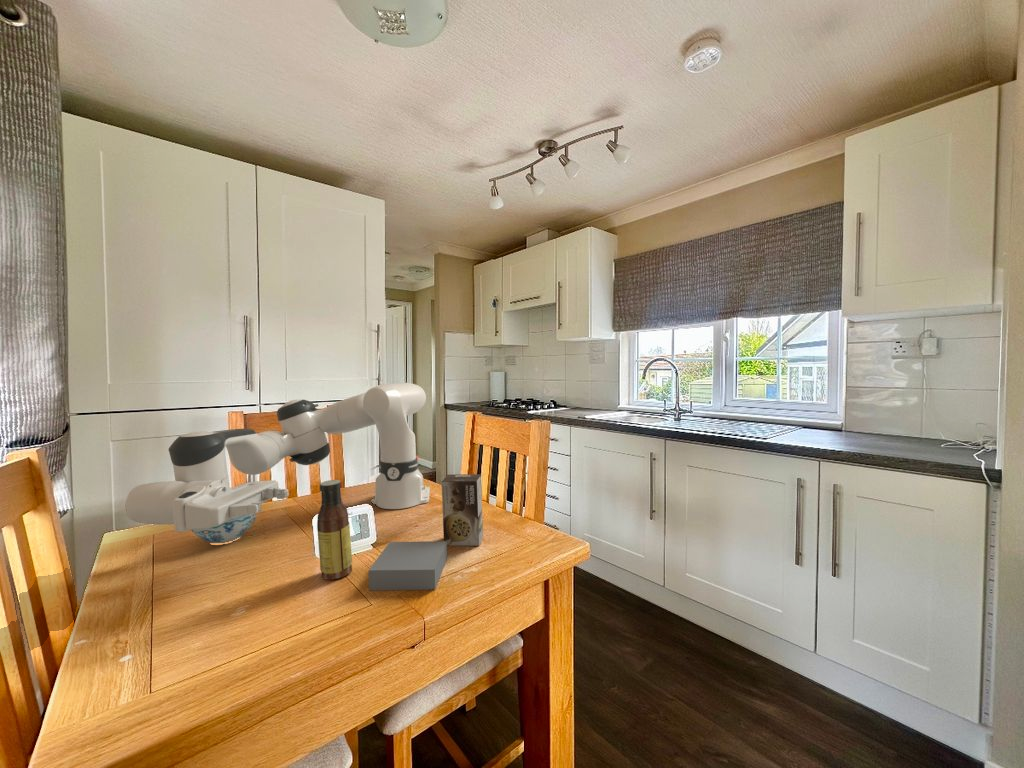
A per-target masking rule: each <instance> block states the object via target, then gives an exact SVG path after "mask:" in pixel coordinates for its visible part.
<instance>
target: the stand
mask: <svg viewBox="0 0 1024 768" xmlns="http://www.w3.org/2000/svg"><path fill="white" fill-rule="evenodd" d="M447 561H448V545H447V541H444V540H439V541H438V540H434V541H425V540H424V541H422V540H421V541H389V542H388V543H387V545H386V546H385V547H384V548H383V550H382V552H381V553H380V554H379V556H378V557H377V558H376V560H375V561H374V562H373V563H372V565H371V566H370V568H369V569H368V590H369V591H430V590H431V591H433V590H432V589H435V590H436V589H437V587H436V586H438V583H439V582H440V581H439V580H440V579H439V578H441V575H442V573H443V570H444V568H445V565H446V562H447ZM429 589H430V590H429Z"/></svg>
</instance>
